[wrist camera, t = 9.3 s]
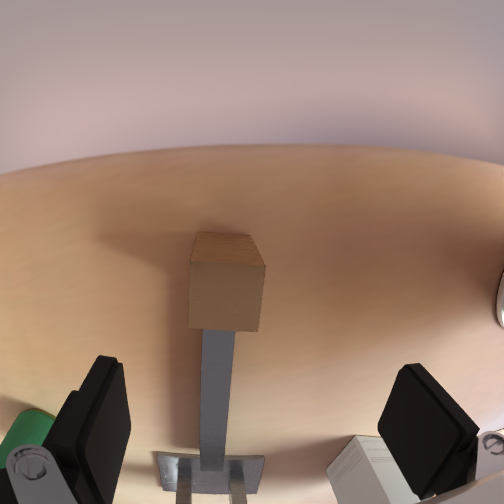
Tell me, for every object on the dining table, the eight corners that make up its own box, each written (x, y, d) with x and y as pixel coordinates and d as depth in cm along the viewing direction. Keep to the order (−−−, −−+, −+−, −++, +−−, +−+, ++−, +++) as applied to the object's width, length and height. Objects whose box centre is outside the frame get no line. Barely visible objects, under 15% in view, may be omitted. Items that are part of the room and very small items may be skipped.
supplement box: (323, 470, 34) (351, 546, 22) (355, 433, 32) (396, 512, 20) (365, 472, 35) (397, 538, 23) (397, 437, 34) (439, 504, 22)
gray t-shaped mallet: (250, 235, 25) (265, 265, 17) (229, 450, 31) (234, 507, 23) (198, 231, 25) (190, 260, 17) (192, 449, 30) (191, 506, 23)
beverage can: (10, 405, 27) (-32, 470, 16) (56, 405, 28) (17, 483, 16) (41, 450, 29) (13, 515, 18) (88, 453, 30) (64, 528, 18)
